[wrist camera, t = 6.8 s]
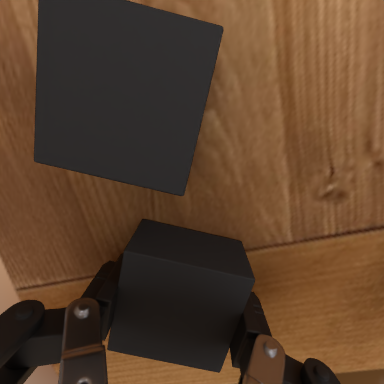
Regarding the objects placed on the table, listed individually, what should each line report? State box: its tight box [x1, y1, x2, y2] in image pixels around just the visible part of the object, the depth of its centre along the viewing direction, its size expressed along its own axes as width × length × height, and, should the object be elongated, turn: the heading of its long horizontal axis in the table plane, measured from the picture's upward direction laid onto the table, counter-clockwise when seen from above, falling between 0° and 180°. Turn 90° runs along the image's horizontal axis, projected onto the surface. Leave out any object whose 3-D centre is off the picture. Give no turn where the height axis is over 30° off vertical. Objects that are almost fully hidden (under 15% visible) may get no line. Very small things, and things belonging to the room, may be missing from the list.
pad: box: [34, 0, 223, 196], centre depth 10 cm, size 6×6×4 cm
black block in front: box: [107, 219, 255, 373], centre depth 12 cm, size 6×6×4 cm
